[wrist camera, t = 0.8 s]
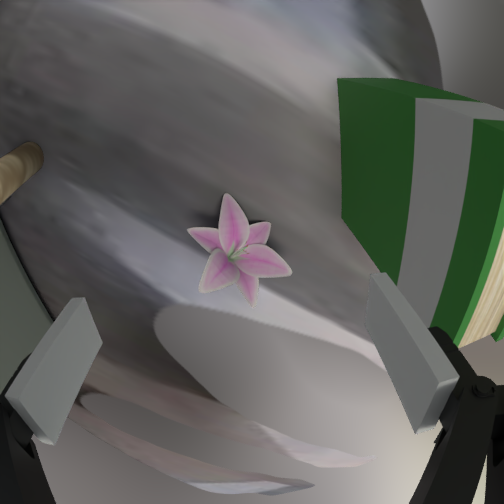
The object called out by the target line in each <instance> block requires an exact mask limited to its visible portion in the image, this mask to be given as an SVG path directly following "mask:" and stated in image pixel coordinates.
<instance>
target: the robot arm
mask: <svg viewBox="0 0 504 504" xmlns="http://www.w3.org/2000/svg"><path fill="white" fill-rule="evenodd" d="M365 326H366V328H367V330H368V332H369V334H370V336H371V338H372V340H373V342H374V344H375V346H376V348H377V350H378V353H379V355H380V357H381V359H382V361H383V363H384V365H385V367H386V369H387V372H388V374H389V376H390V378H391V380H392V382H393V385H394V387H395V389H396V391H397V394H398V396H399V398H400V400H401V402H402V405H403V407H404V409H405V412H406V414H407V416H408V419H409V421H410V423H411V425H412V428H413V430H414V433H415V434H418V433H422V432H425V431H428V430H431V429H434V427H435V425H436V424H437V422H438V420H440V422H441V423H442V426H443V428H442V429H441V431H440V433H439V435H438V436H437V438H436V440H435V441H434V443H436V444H435V447H434V450H433V452H432V455H431V457H430V459H429V462H428V464H427V467H426V469H425V471H424V473H423V475H422V478H421V480H420V482H419V484H418V486H417V488H416V490H415V492H414V495H413V496H412V498H411V500H410V502H409V504H472V501H473V498H474V495H475V492H476V489H477V486H478V483H479V480H480V476H481V473H482V470H483V466H484V463H485V459H486V455H487V474H486V491H485V503H484V504H504V385H496V384H495V383H494V382H493V381H492V380H491V379H489V378H487V377H484V376H477V375H476V373H475V372H474V370H473V369H472V367H471V366H470V364H469V363H468V362H467V360H466V359H465V357H464V356H463V354H462V353H461V352H460V351H459V350H458V347H457V346H456V345H455V343H453V341H452V339H451V338H450V336H449V335H448V334H447V333H446V332H445V331H443V330H442V329H440V328H439V327H437V326H435V327H430V328H427V327H426V326H425V324H424V323H423V322H422V320H421V319H420V317H419V316H418V315H417V313H416V312H415V310H414V309H413V308H412V306H411V305H410V304H409V302H408V301H407V300H406V298H405V297H404V295H403V294H402V293H401V291H400V290H399V289H398V288H397V286H396V285H395V284H394V282H393V281H392V280H391V278H390V277H389V276H388V274H387V273H386V272H384V273H376V274H370V282H369V292H368V301H367V310H366V318H365ZM101 345H102V340H101V338H100V335H99V333H98V331H97V328H96V326H95V323H94V321H93V318H92V316H91V313H90V310H89V308H88V305H87V303H86V300H85V297H83V298H72V299H71V300H70V301H69V303H68V304H67V305H66V307H65V308H64V309H63V311H62V312H61V313H60V315H59V316H58V317H57V319H56V320H55V321H54V323H53V324H52V325H51V327H50V328H49V330H48V331H47V332H46V334H45V335H44V337H43V338H42V339H41V341H40V342H39V344H38V345H37V347H36V348H35V349H34V351H33V352H32V353H30V354H29V355H28V356H27V357H26V358H24V359H23V360H22V362H21V363H20V365H19V366H18V368H17V370H16V371H15V372H14V374H13V377H11V378H10V380H9V381H8V383H7V385H6V386H5V388H4V389H3V391H2V393H1V394H0V504H56V502H55V500H54V497H53V495H52V492H51V490H50V487H49V485H48V482H47V479H46V477H45V474H44V471H43V468H42V465H41V462H40V459H39V456H38V453H37V450H36V446H35V444H34V442H33V440H32V439H31V437H32V435H33V433H34V434H35V435H36V437H37V438H38V439H39V440H40V441H41V442H43V443H48V444H51V445H55V444H56V442H57V439H58V437H59V435H60V432H61V430H62V428H63V425H64V423H65V420H66V418H67V416H68V414H69V412H70V409H71V407H72V405H73V403H74V400H75V398H76V396H77V394H78V392H79V390H80V387H81V385H82V383H83V381H84V379H85V377H86V375H87V373H88V371H89V369H90V367H91V365H92V363H93V361H94V358H95V356H96V354H97V353H98V351H99V349H100V347H101Z"/></svg>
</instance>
